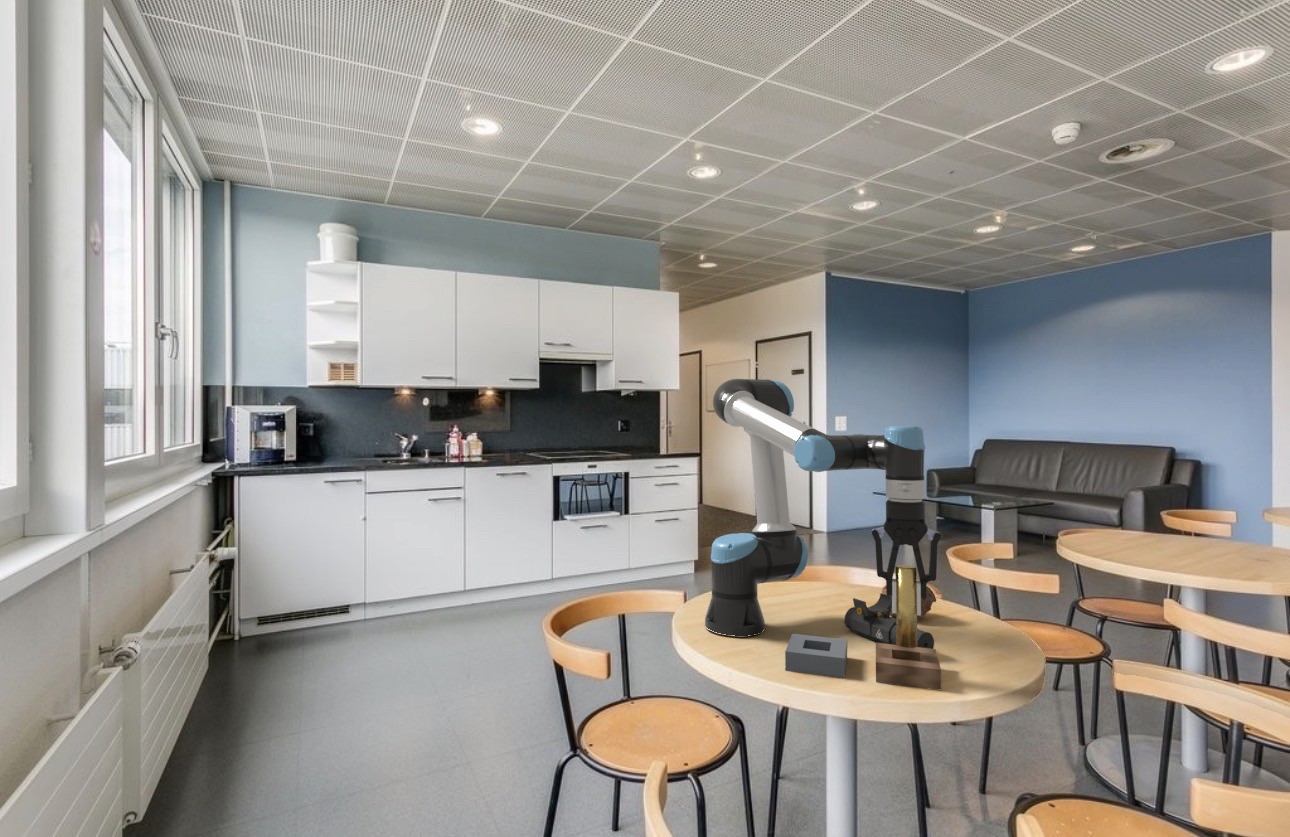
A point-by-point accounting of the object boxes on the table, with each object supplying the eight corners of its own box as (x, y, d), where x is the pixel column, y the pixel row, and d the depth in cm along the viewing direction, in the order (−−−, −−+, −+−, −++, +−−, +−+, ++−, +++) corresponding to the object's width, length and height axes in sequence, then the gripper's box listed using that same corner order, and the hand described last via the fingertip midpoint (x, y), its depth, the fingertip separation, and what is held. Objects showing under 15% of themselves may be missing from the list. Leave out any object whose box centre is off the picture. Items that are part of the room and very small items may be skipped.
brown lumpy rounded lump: (942, 619, 168) (941, 581, 168) (919, 627, 161) (919, 588, 161) (896, 608, 178) (896, 572, 178) (873, 615, 171) (873, 578, 172)
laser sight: (910, 662, 138) (910, 617, 138) (835, 632, 158) (835, 592, 158) (940, 655, 143) (940, 610, 143) (864, 626, 162) (863, 588, 163)
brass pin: (896, 646, 130) (895, 568, 130) (896, 640, 133) (895, 564, 134) (917, 648, 128) (916, 570, 128) (916, 642, 132) (915, 565, 132)
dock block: (875, 681, 127) (875, 662, 127) (875, 660, 139) (875, 642, 139) (941, 690, 123) (940, 669, 123) (935, 667, 134) (935, 649, 134)
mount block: (785, 670, 134) (785, 651, 134) (792, 651, 145) (792, 633, 145) (844, 677, 129) (844, 658, 129) (847, 657, 141) (847, 639, 141)
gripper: (861, 500, 131) (862, 613, 130) (952, 503, 125) (953, 622, 124) (862, 496, 138) (863, 604, 137) (948, 499, 132) (949, 611, 132)
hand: (906, 612), depth 131 cm, fingers closed on brass pin, 4 cm apart
